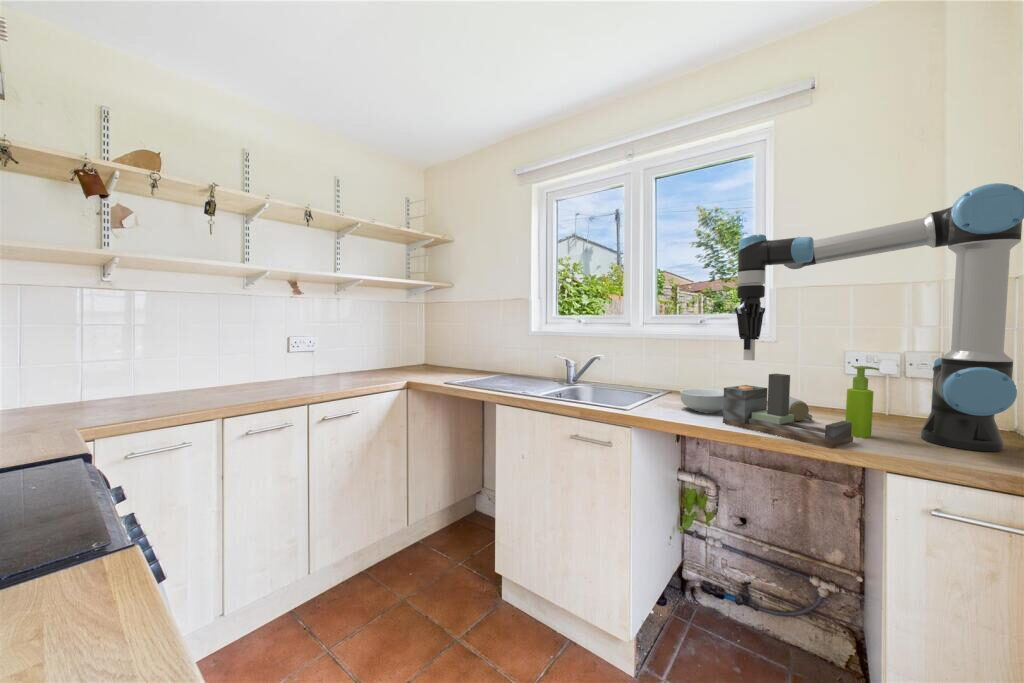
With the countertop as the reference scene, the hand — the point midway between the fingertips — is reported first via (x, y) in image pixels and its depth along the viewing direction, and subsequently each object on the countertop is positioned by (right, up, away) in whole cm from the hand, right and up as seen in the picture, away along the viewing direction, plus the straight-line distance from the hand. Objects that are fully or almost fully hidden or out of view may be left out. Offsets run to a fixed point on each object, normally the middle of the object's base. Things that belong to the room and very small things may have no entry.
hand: (748, 359), depth 133 cm
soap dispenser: (+25, -21, -12) cm, 35 cm away
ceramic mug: (+19, -21, +8) cm, 29 cm away
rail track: (+5, -21, -9) cm, 23 cm away
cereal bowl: (-5, -20, +20) cm, 28 cm away
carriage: (+3, -18, -7) cm, 19 cm away
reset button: (-1, -12, +1) cm, 12 cm away
